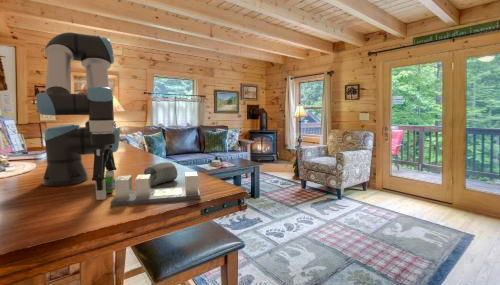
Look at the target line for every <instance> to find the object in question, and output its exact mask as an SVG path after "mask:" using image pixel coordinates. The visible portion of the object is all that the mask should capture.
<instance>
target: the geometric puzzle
mask: <svg viewBox="0 0 500 285" xmlns="http://www.w3.org/2000/svg"><path fill="white" fill-rule="evenodd" d="M114 178H115V177H114ZM114 178H113V177H111V176H107V175H106V174H104V179H105V187H106V197H107V196H108V195H109V193H113V192H114V189H115V180H116V178H115V179H114ZM94 191H96V185H95V184H94Z"/></svg>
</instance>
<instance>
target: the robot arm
mask: <svg viewBox="0 0 500 285" xmlns="http://www.w3.org/2000/svg"><path fill="white" fill-rule="evenodd" d="M44 51H45V52H44V54H45V57H46V59H47V65H46V66H47V67H46V76H45V77H46V78H45V88H44V89H45V90H44V92H38V93H37V94H36V97H35V103H36V105H35V106H36V109H37V113H38V114H39V115H40V116H41V115H43V116H52V117H53V116H88V120H87V121H86V122H85V123H84V125H85V126H84V127H83V126H80V124H79V123H73V124H64V125H57V126H56V125H55V126H50V127H47V128H46V129H45V130H44V139H43V141H44V144H45V152H46V154H45V155H46V168H45V171H44V175H43V178H42V184H43V186H46V187H62V186H70V185H76V184H80V183H83V182H85V181H87V180H88V178H89V177H88V176H89V175H88V171H87V169H86V167H85V165H84V163H83V161H82V156H83V155H85V156H87V155H93V166H92V167H93V168H92V169H93V170H92V178H91V181H92V182H95V184H94V186H95V185H96V190H95V196H96V197H95V198H96V200H98V201H99V200H101V201H102V200H106V199H107V196H106V194H107V193H106V187H105V179H104V177H105V175H107V176H111V177H113V178H114V179H115V180H116V178H115V171H116V170H117V167H116V163H115V162H116V161H115V156H114V153H116V152H118V151H119V148H120V147H119V146H120V145H119V144H120V137H121V136H120V135H121V129H120V128H121V127H120V126H119V125H117V123H116V121H115V116H114V114H115V113H114V96H113V89H112V88H111V87H110V84H109V72H108V70H109V69H111V67H112V66H111V65H112V64H113V65H114V62H115V59H114V58H115V56H114V51H113V46H112V42H111V40H110V39H109V38H108V37H105V36H101V35H92V34H86V33H85V34H84V33H79V32H78V33H77V32H76V33H75V32H69V31H68V32H63V33H59V34H57V35H56V36H54V37H52V38H51V39H49V41H48V42H47V44H46V46H45V50H44ZM73 61H74V62H75V61H76V62H80V63H81V66H82V67H84V68H85V79H86V92H87V93H72V63H73Z"/></svg>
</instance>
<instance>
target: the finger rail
mask: <svg viewBox="0 0 500 285" xmlns="http://www.w3.org/2000/svg"><path fill="white" fill-rule="evenodd" d="M197 172H198V171H186V172H184V184H185V186H178V187H177V186H176V187H162V188H152V186H151V174H146V175H144V174H138V175H137V176H136V178H135V180H134V181H135V189H133V176H132V175H131V174H129V175H118V176H117V177H116V178H115V188H114V192H115V195H114V196H113V198H112V199H111V201H110V207H111V208H112V207H115V208H116V207H124V206H135V205H136V206H137V205H147V204H148V205H151V204H159V203H173V202H174V203H175V202H184V201H194V200H195V201H197V200H201V193H200V189H199V180H198V178H199V176H198V173H197Z"/></svg>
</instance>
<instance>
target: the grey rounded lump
mask: <svg viewBox="0 0 500 285" xmlns="http://www.w3.org/2000/svg"><path fill="white" fill-rule="evenodd" d="M146 174H151V187H154V186H157V185H160V184H164V183H168V182H172V181H175V180H177V178H178V169H177V167H176V166H175V164H173V163H172V162H169V161H168V162H159V163H155V164H151V165H149V166H147V167H146V168H144V172H143V175H146Z"/></svg>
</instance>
